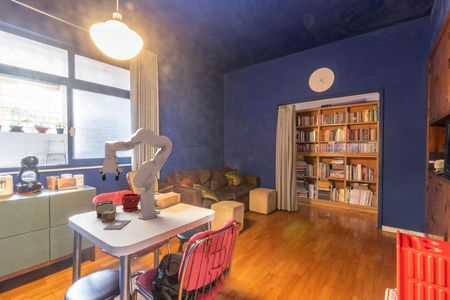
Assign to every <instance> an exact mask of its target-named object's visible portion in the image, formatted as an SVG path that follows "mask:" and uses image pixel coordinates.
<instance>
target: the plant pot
mask: <svg viewBox="0 0 450 300" xmlns="http://www.w3.org/2000/svg"><path fill="white" fill-rule="evenodd" d="M121 204H122V208H121V209H122V210H123V211H124V212H132V211H133V212H134V211H137V210H138V209H139V204H140V194H139V193H125V194H122V195H121Z"/></svg>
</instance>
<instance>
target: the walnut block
mask: <svg viewBox="0 0 450 300" xmlns="http://www.w3.org/2000/svg"><path fill="white" fill-rule="evenodd" d="M115 220H116V213H115V211H105V212H103V213H102V217H101V223H112V222H114V221H115Z"/></svg>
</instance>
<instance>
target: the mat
mask: <svg viewBox="0 0 450 300" xmlns="http://www.w3.org/2000/svg"><path fill="white" fill-rule="evenodd" d="M131 221H132V219H131V220H130V219H125V220H124V219H115V220H114V221H112V222H110V223H109V224H107V226H104V227H103V230H122V229H123V228H124V227H126V225H128V224H129V223H130V222H131Z"/></svg>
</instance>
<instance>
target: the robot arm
mask: <svg viewBox="0 0 450 300" xmlns="http://www.w3.org/2000/svg"><path fill="white" fill-rule="evenodd" d="M143 144H146V145H148V146H149V147H151V148H154V149H155V148H156V149H157V148H159V149H158V150H157V151H156V153H155V154H154V156H153V157H152V158H151V159H150V160H145V161H143V162H142V163H141V164H140V166H139V168H138V169H137V171H136V173H135V174H134V176H133V178H132V183H133V186H134V187H135V188H137V189H140V194H139V195H140V199H139V204H140V205H139V206H140V214H138V215H137V217H138V218H137V219H141V220H151V219H154V218H156V217H157V215H161V211H160V210H156V208H155V193H156V191H155V190H156V189H155V188H156V184H157V183H156V181H157V177H156V175H155V174H157V173H159V172H160V171H161V170H162V168H163V166H164V164H165V163H166V161H167V159H168V158H169V156H170V154H171V152H172V149H173V143H172V140H171V139H170V138H169V136H166V135H157V134H155V131H154V130H152V129H150V128H144V127H141V128H139V129H137V130H136V132H135V133H134V134H132V135H131V136H130V139H128V140H125V141H124V140H122V141H121V140H114V141H108V140H107V141H105V142H104V160H103V163H102V167H101V168H99V169H98V172H99V174H100V175H101V177H102V178H101V179H102V181H103V182H105V181H107V175H106V174H115V181H116V182H117V181H119V180H120V174H122V172H123V168H120V166H119V161H118V158H119V157H118V156H117V152H128V151H131V150H133V149H135V148H137V147H138V146H140V145H143Z"/></svg>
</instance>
